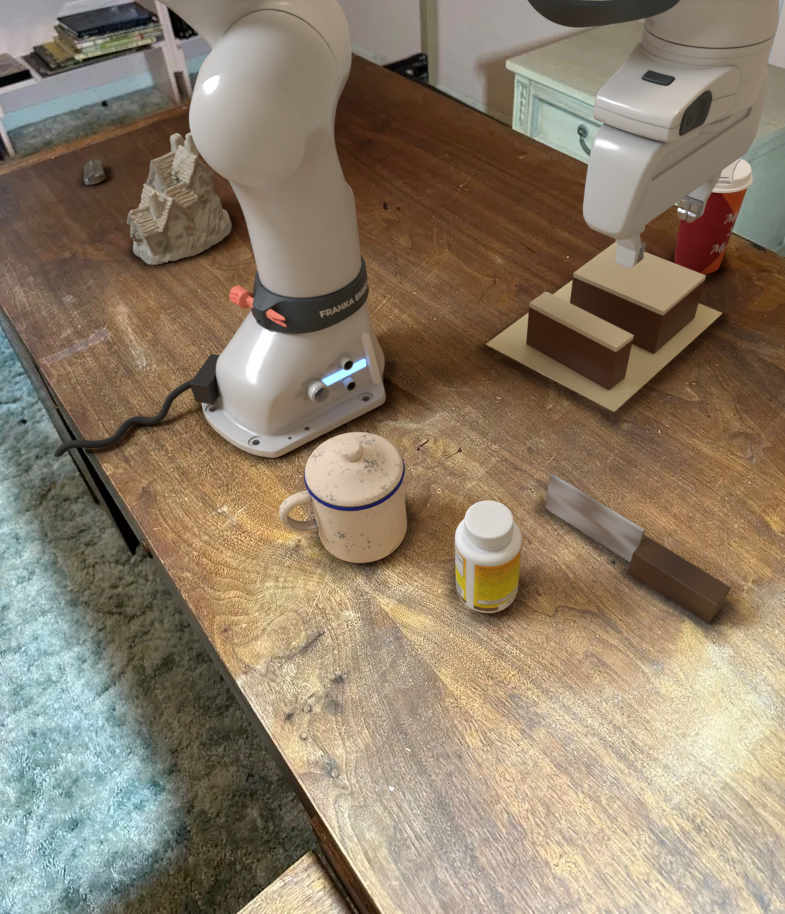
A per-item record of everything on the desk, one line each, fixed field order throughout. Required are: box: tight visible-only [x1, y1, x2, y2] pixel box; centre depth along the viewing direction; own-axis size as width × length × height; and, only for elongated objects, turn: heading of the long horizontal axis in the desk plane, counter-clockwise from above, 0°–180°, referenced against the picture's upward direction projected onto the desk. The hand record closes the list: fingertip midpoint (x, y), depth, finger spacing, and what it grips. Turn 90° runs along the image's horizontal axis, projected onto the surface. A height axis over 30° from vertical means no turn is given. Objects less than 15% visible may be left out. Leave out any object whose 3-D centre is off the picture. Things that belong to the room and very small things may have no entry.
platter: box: [485, 279, 723, 413], centre depth 92 cm, size 23×18×1 cm
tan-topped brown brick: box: [526, 291, 634, 390], centre depth 86 cm, size 3×12×6 cm, turn 42°
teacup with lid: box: [278, 431, 408, 564], centre depth 70 cm, size 12×9×12 cm
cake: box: [570, 241, 707, 354], centre depth 91 cm, size 9×12×6 cm
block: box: [83, 158, 107, 186], centre depth 130 cm, size 4×6×2 cm, turn 19°
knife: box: [545, 472, 732, 625], centre depth 69 cm, size 18×2×5 cm, turn 45°
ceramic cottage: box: [126, 131, 232, 266], centre depth 111 cm, size 16×16×15 cm
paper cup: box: [673, 157, 754, 275], centre depth 96 cm, size 8×8×14 cm
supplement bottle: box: [454, 499, 523, 614], centre depth 65 cm, size 6×6×10 cm
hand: (659, 239), depth 66 cm, fingers open, 8 cm apart
